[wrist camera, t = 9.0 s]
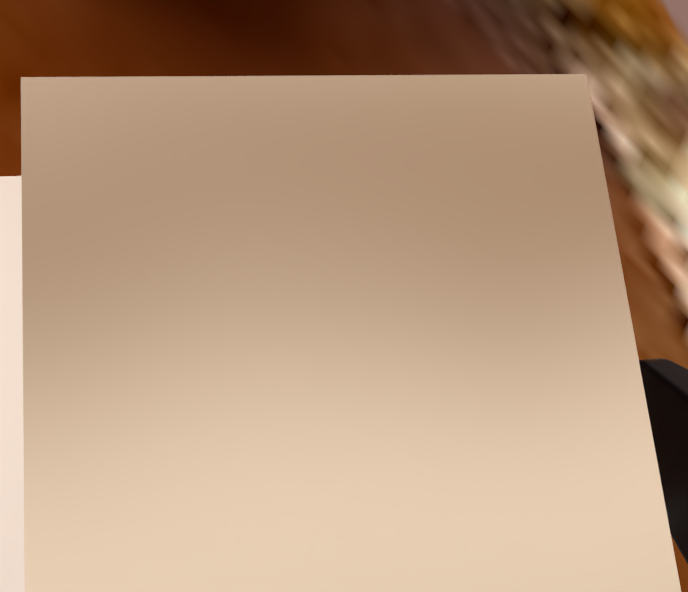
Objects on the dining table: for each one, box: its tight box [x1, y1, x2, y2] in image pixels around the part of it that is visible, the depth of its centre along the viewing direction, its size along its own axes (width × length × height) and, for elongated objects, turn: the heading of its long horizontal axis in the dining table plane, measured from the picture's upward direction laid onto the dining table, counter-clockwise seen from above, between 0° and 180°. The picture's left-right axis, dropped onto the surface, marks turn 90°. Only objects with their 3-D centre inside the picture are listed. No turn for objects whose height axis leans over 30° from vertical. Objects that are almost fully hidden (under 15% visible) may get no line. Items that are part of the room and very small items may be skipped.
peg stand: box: [0, 176, 25, 592], centre depth 17 cm, size 14×14×3 cm
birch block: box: [21, 74, 681, 592], centre depth 11 cm, size 5×5×11 cm
